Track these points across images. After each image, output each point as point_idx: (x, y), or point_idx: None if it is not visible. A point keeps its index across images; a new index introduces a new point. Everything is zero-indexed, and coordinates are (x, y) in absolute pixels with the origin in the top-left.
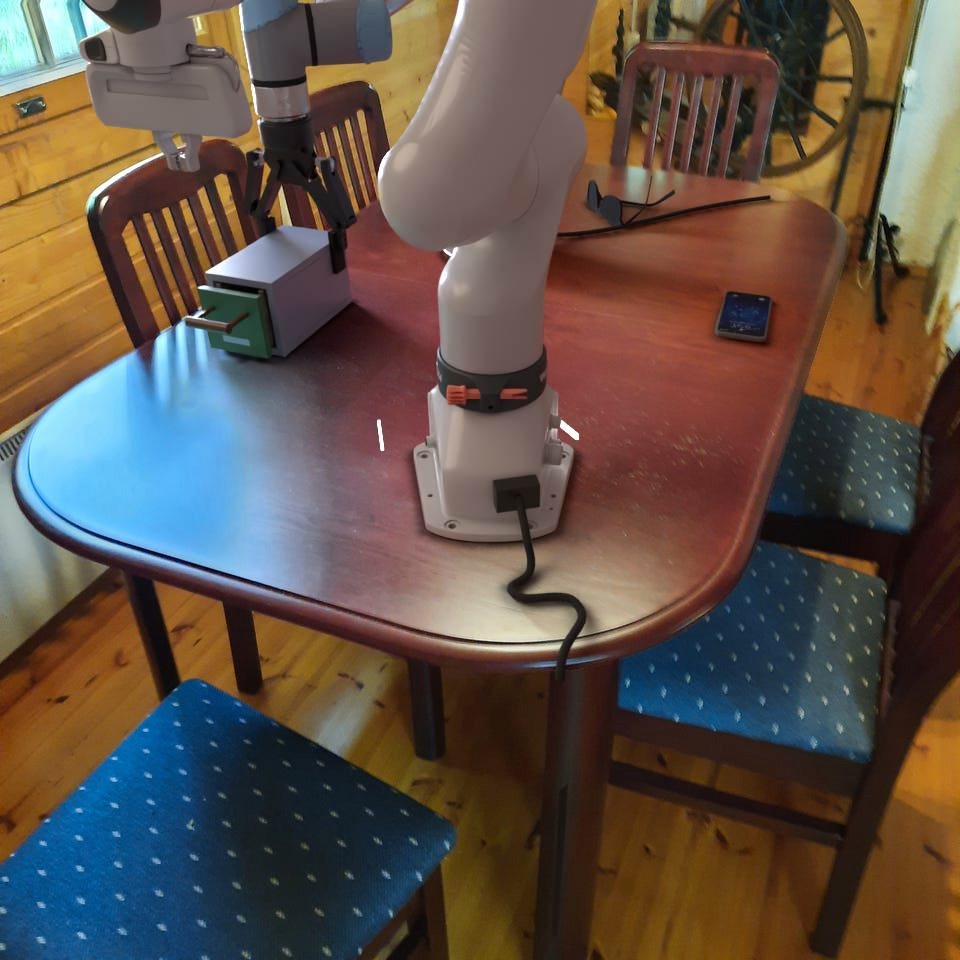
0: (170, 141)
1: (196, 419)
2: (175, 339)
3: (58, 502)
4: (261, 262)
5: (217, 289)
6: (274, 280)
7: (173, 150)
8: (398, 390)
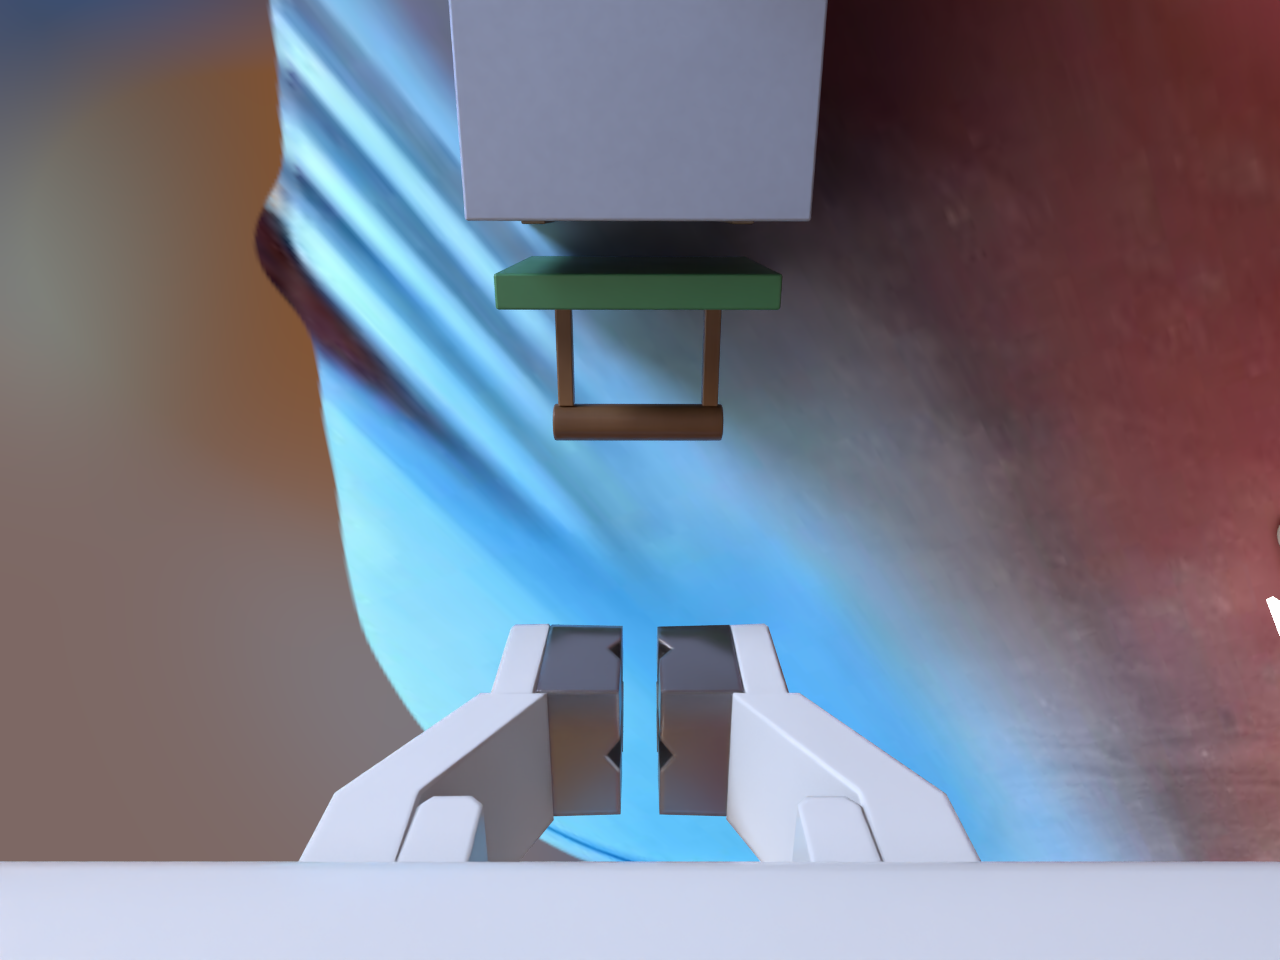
0: (466, 795)
1: (712, 571)
2: (357, 237)
3: (642, 851)
4: (640, 13)
5: (582, 291)
6: (809, 187)
7: (530, 762)
8: (1170, 275)
